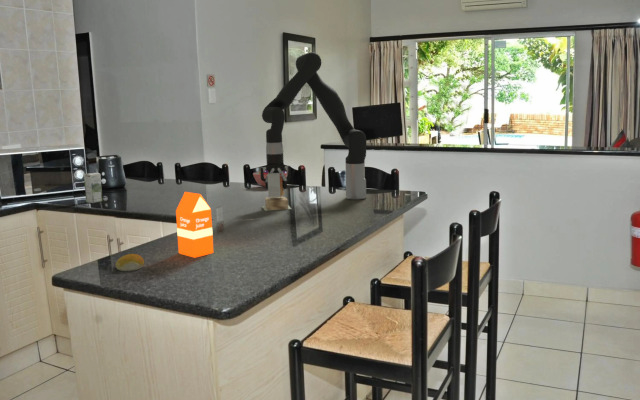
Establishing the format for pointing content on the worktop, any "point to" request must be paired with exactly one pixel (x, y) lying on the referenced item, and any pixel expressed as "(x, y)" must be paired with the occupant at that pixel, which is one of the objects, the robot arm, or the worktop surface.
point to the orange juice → (194, 226)
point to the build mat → (277, 209)
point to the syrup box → (93, 187)
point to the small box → (275, 185)
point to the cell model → (258, 177)
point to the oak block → (276, 203)
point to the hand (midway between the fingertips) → (276, 189)
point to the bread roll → (130, 262)
